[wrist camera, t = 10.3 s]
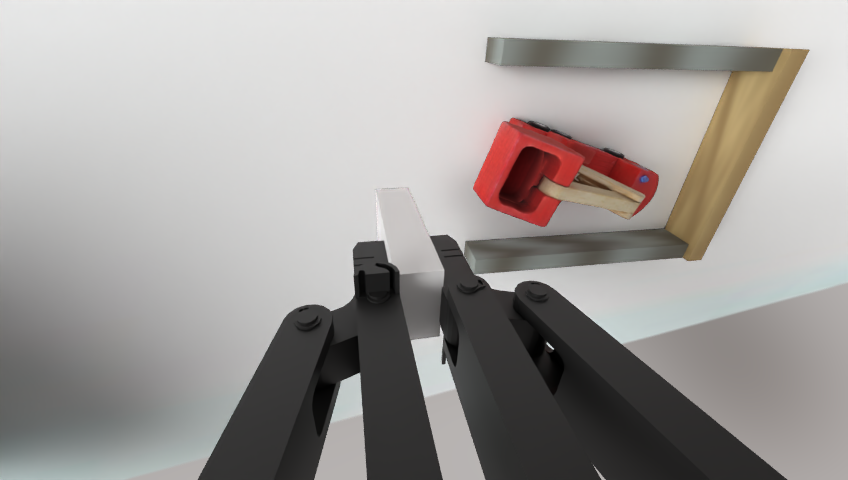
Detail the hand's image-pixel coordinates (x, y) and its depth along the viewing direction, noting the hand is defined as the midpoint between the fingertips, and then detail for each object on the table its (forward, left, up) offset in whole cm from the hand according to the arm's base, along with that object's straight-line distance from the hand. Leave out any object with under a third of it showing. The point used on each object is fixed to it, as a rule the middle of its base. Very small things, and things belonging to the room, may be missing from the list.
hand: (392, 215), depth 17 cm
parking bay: (+15, 0, -7) cm, 16 cm away
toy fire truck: (+11, +1, -7) cm, 13 cm away
